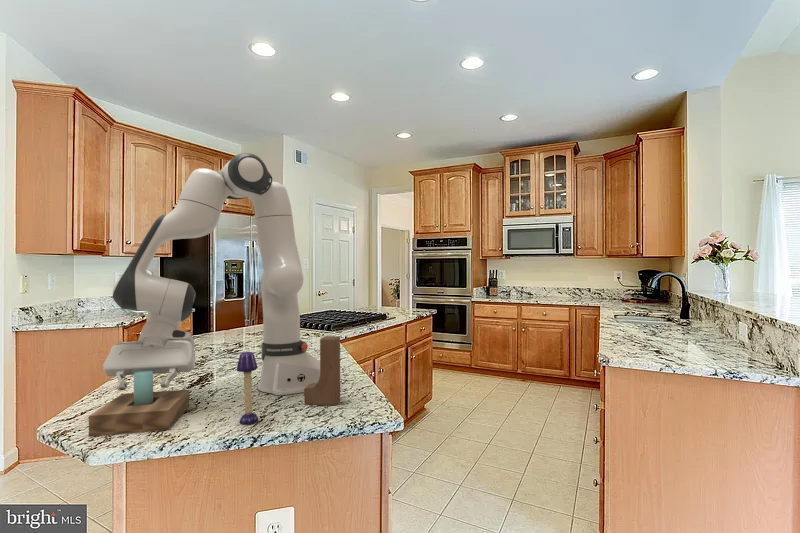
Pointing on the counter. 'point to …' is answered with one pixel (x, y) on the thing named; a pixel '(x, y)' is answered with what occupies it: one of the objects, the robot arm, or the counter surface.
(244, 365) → the toy lamp
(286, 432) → the counter surface
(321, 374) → the wooden block
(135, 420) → the bore block
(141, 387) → the pin
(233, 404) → the counter surface
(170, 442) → the counter surface
